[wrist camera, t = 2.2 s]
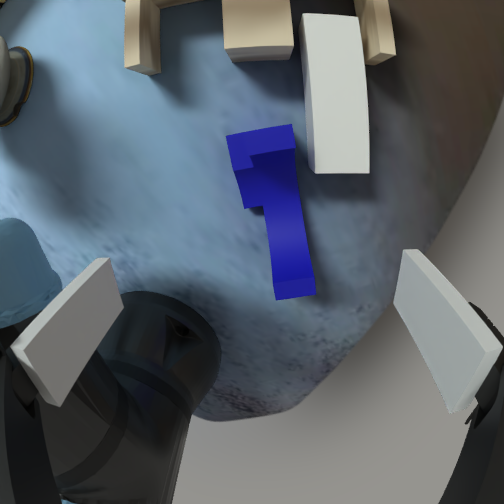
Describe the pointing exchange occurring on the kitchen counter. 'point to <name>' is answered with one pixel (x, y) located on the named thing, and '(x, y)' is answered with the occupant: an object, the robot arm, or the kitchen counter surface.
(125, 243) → the kitchen counter surface
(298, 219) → the blue stepped long piece
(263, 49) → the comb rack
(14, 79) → the apothecary jar
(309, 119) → the white rectangular bar
